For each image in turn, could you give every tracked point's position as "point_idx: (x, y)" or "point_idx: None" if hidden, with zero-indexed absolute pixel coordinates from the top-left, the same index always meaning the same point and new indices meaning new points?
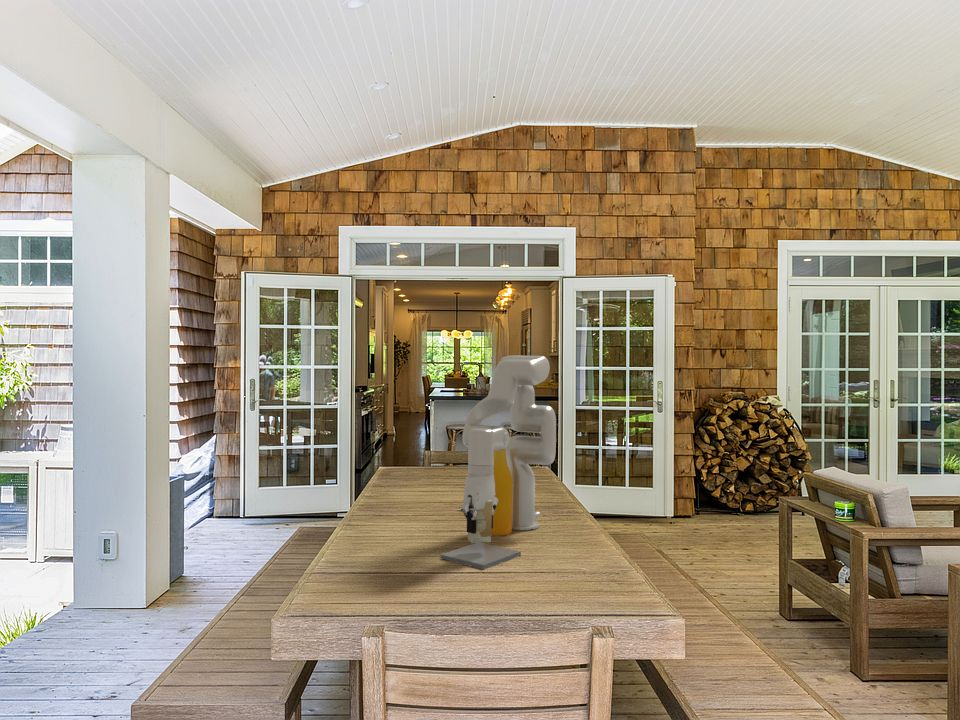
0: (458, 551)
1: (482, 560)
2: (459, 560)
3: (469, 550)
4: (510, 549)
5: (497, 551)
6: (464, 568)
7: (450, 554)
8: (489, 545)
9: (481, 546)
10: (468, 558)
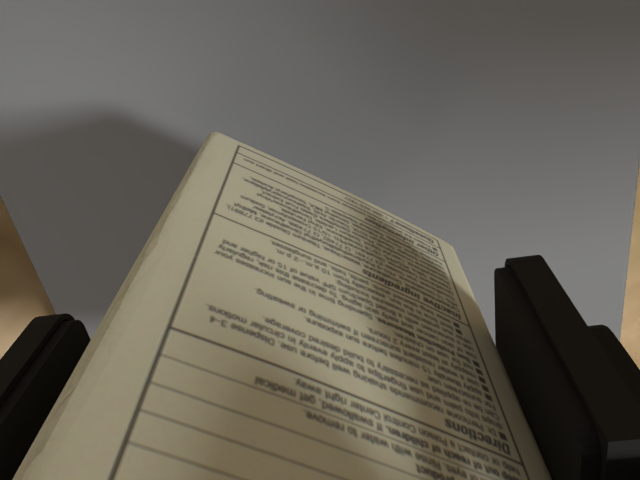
0: (153, 13)
1: None
2: (24, 225)
3: (286, 66)
4: (617, 304)
5: (475, 276)
6: (10, 324)
7: (8, 50)
8: (622, 61)
9: (519, 30)
10: (103, 265)
